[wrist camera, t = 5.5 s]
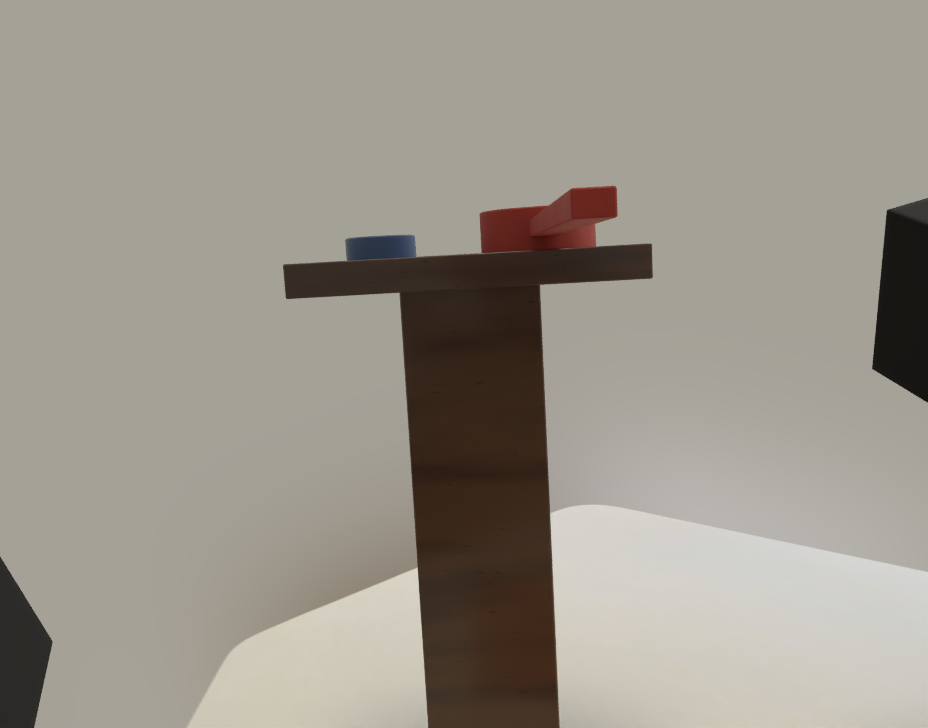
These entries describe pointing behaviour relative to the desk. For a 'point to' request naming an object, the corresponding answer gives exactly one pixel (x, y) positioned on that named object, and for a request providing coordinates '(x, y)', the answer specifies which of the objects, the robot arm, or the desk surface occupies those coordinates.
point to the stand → (479, 464)
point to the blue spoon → (380, 247)
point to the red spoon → (549, 222)
